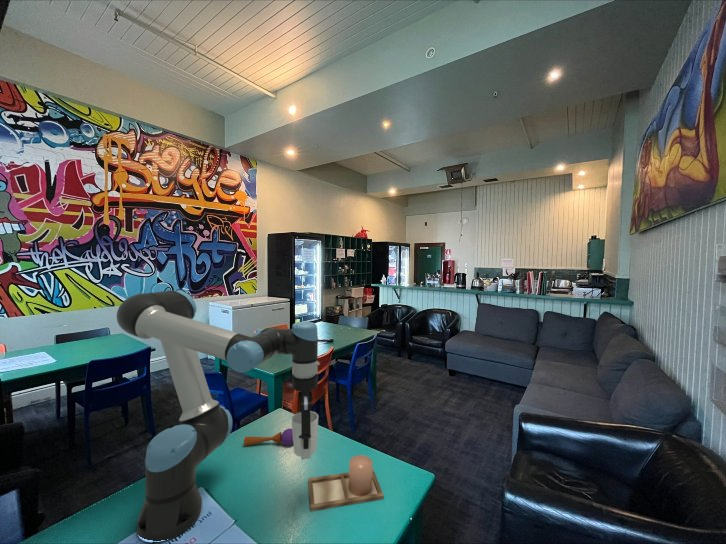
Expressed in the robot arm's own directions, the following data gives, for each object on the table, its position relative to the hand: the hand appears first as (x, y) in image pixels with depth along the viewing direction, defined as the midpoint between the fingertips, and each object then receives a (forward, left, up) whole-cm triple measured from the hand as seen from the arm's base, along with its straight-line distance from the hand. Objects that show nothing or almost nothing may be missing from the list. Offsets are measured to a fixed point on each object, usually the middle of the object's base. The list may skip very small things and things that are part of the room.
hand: (305, 449), depth 89 cm
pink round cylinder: (+18, 0, -15) cm, 23 cm away
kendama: (-12, +31, -16) cm, 37 cm away
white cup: (0, 0, 0) cm, 0 cm away
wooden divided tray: (+12, 0, -16) cm, 20 cm away
